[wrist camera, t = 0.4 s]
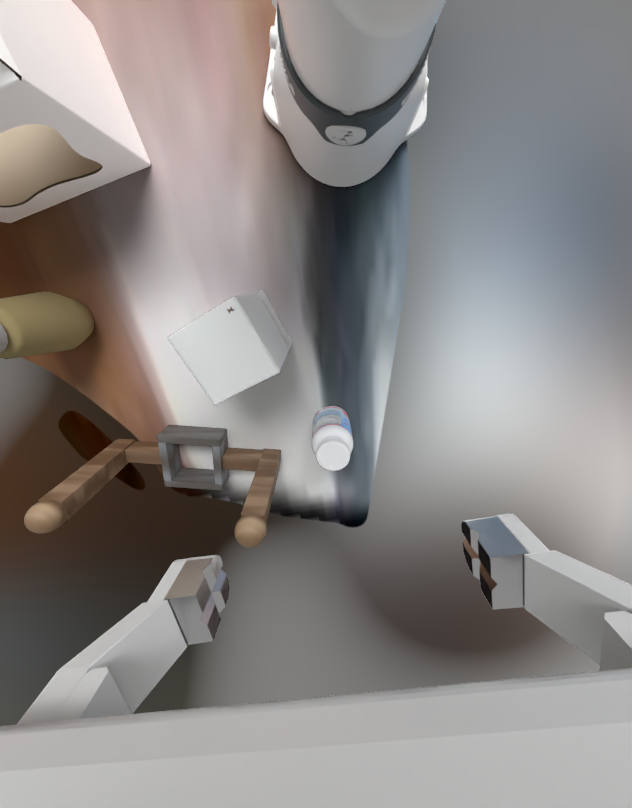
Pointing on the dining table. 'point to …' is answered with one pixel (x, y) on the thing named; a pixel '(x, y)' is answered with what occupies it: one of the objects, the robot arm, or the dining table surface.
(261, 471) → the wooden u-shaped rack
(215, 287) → the dining table surface
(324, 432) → the pill bottle
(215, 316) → the supplement box
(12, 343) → the squeeze bottle
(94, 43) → the gable box
